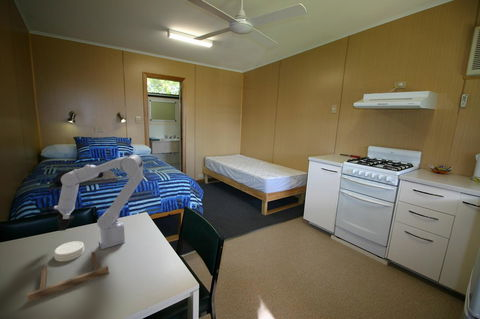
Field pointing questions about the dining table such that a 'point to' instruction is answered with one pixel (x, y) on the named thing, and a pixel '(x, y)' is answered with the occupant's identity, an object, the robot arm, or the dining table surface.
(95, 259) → the walnut bay
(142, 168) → the robot arm
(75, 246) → the white round dish
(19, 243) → the dining table surface
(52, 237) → the dining table surface
